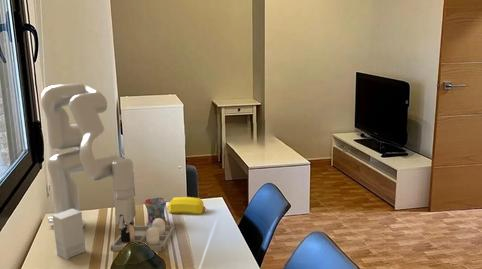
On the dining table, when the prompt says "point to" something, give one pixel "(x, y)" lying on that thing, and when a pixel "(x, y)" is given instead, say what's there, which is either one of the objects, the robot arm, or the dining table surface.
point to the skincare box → (69, 233)
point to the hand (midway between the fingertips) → (128, 238)
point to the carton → (141, 236)
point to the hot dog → (186, 205)
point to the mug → (155, 209)
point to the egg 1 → (131, 233)
